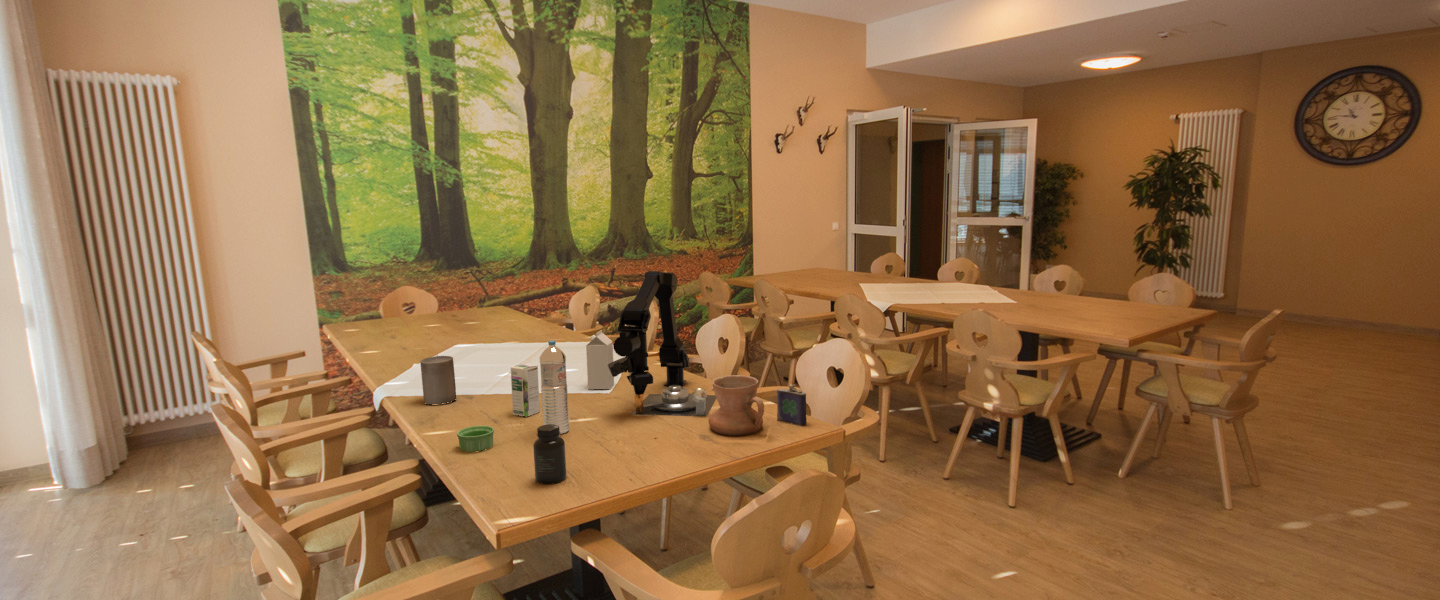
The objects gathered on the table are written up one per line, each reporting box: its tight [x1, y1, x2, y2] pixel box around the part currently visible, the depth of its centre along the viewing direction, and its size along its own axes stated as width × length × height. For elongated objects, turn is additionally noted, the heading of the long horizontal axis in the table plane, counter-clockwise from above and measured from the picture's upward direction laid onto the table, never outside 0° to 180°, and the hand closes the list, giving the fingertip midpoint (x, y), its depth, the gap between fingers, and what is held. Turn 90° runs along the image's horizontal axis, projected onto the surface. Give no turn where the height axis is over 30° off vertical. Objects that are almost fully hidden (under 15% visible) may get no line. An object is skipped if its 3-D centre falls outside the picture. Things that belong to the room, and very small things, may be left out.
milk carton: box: [585, 329, 615, 390], centre depth 238 cm, size 7×7×19 cm
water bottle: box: [539, 340, 570, 435], centre depth 192 cm, size 7×7×25 cm
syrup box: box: [510, 363, 541, 418], centre depth 210 cm, size 6×6×14 cm
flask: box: [776, 384, 807, 427], centre depth 198 cm, size 9×3×11 cm, turn 50°
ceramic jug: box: [708, 374, 765, 437], centre depth 190 cm, size 18×14×14 cm
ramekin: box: [456, 425, 495, 453], centre depth 183 cm, size 9×9×4 cm
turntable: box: [634, 392, 696, 412], centre depth 213 cm, size 16×22×5 cm
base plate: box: [630, 393, 717, 417], centre depth 215 cm, size 22×22×1 cm
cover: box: [661, 385, 689, 404], centre depth 214 cm, size 8×8×4 cm
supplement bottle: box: [533, 424, 567, 485], centre depth 160 cm, size 7×7×12 cm
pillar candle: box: [419, 354, 457, 405], centre depth 225 cm, size 10×10×15 cm
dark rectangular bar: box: [691, 387, 708, 416], centre depth 203 cm, size 3×4×8 cm
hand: (638, 401), depth 210 cm, fingers closed
